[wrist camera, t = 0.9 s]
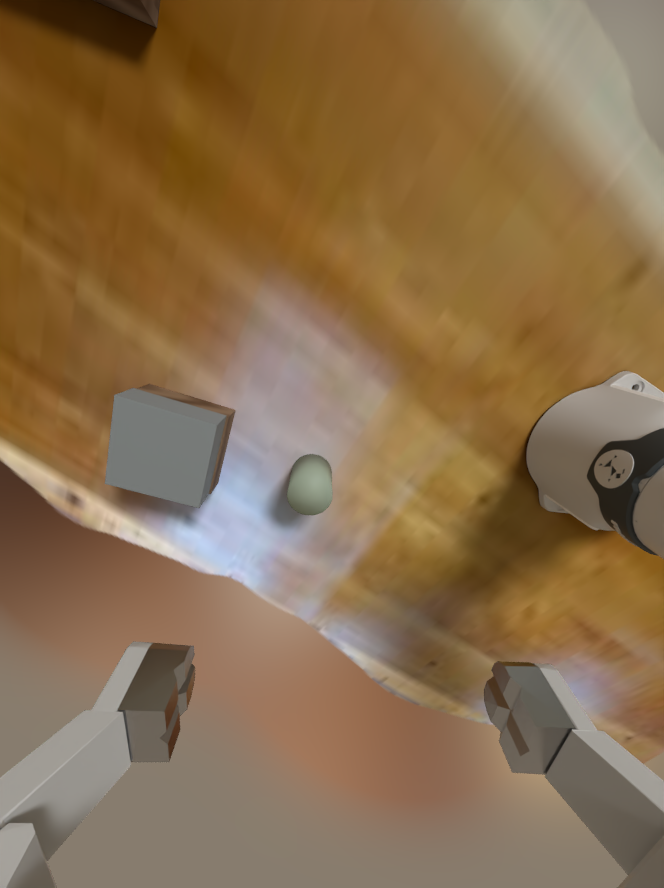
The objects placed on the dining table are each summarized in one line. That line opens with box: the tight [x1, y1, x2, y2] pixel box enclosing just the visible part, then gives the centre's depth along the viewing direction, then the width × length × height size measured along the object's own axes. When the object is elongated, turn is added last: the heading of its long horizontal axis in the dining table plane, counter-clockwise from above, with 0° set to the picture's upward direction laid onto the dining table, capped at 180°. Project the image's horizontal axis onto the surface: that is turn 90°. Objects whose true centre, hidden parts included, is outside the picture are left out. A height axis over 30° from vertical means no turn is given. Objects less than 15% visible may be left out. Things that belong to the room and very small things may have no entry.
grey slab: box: [105, 388, 226, 508], centre depth 37 cm, size 10×10×4 cm
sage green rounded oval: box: [287, 454, 332, 515], centre depth 41 cm, size 5×5×6 cm
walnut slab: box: [137, 384, 235, 494], centre depth 41 cm, size 10×10×4 cm
